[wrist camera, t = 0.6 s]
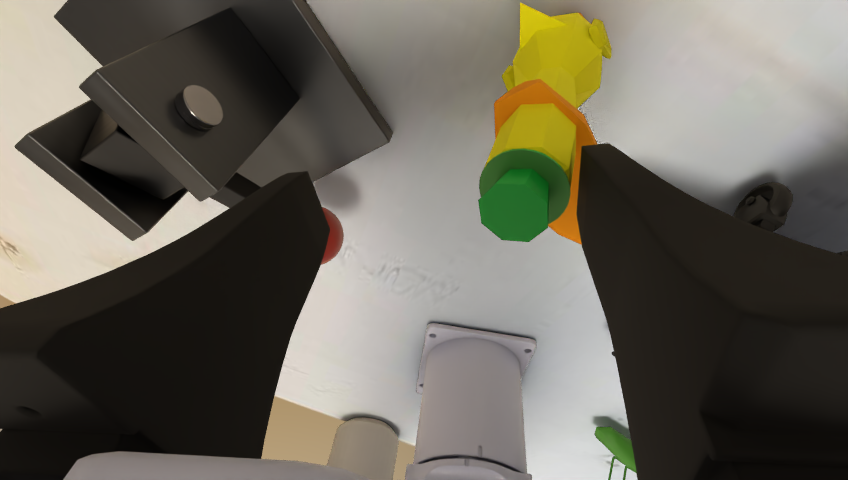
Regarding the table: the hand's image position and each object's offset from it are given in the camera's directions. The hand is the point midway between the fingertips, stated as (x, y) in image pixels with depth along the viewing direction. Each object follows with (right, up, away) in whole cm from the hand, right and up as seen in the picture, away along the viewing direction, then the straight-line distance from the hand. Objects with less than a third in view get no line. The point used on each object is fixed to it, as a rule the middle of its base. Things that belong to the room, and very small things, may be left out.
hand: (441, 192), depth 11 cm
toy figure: (+6, +7, +6) cm, 11 cm away
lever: (-8, +2, +7) cm, 11 cm away
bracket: (-9, +7, +9) cm, 14 cm away
